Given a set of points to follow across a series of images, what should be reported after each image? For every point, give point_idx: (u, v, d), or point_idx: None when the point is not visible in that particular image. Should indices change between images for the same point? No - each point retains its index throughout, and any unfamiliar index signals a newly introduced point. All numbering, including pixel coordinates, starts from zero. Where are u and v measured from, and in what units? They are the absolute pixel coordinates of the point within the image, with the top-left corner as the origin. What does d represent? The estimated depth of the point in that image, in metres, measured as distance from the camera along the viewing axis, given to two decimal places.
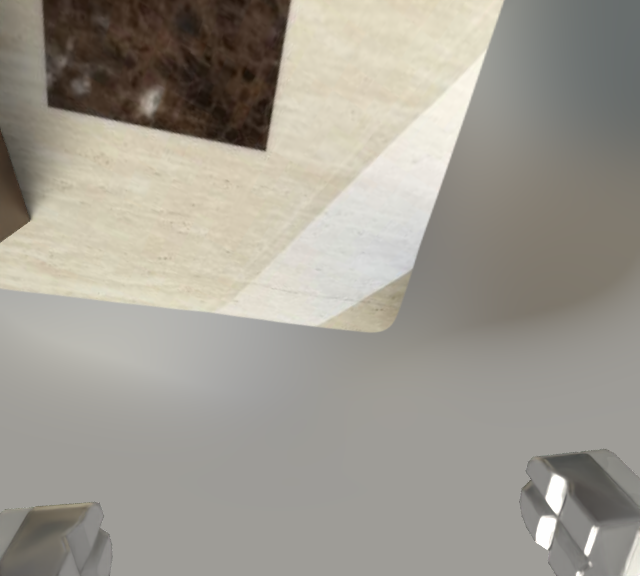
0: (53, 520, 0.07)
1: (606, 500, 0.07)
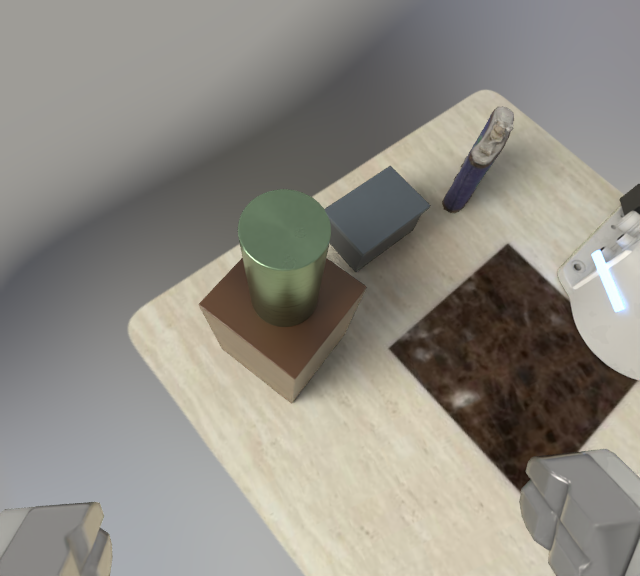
0: (53, 520, 0.07)
1: (606, 499, 0.07)
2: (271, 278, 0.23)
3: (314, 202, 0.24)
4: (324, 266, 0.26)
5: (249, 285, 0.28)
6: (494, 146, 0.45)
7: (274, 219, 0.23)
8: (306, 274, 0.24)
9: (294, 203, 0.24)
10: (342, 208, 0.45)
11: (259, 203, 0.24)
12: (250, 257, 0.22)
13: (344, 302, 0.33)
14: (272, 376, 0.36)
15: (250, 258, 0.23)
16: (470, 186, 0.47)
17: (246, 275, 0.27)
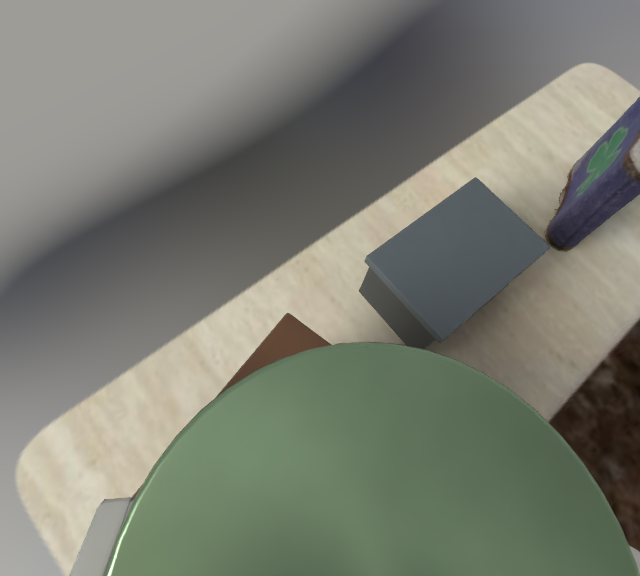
0: None
1: None
2: None
3: (525, 417, 0.05)
4: None
5: None
6: None
7: (321, 551, 0.04)
8: None
9: (423, 429, 0.04)
10: (400, 253, 0.25)
11: (233, 439, 0.04)
12: None
13: None
14: None
15: None
16: (612, 212, 0.28)
17: None
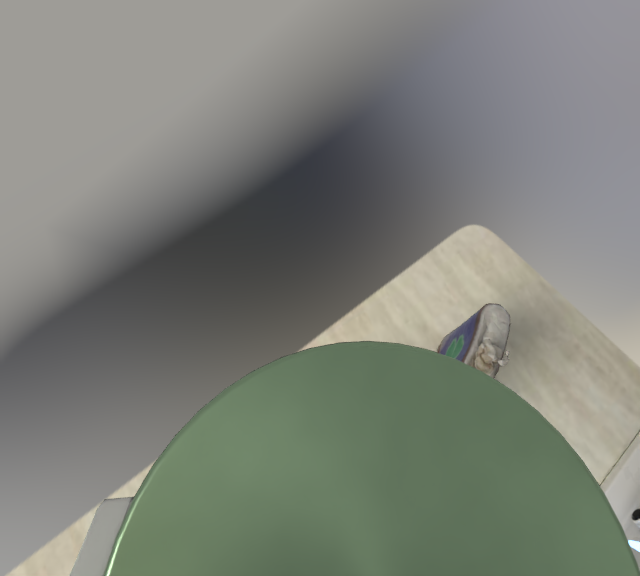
0: None
1: None
2: None
3: (525, 416, 0.05)
4: None
5: None
6: None
7: (321, 550, 0.04)
8: None
9: (423, 429, 0.04)
10: None
11: (232, 438, 0.04)
12: None
13: None
14: None
15: None
16: None
17: None
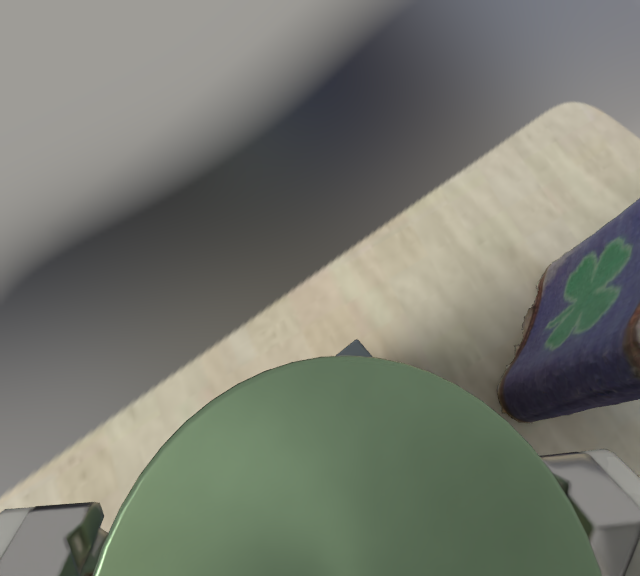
0: (53, 520, 0.07)
1: (606, 499, 0.07)
2: None
3: (496, 429, 0.05)
4: None
5: None
6: None
7: (297, 557, 0.04)
8: None
9: (399, 440, 0.05)
10: None
11: (216, 449, 0.04)
12: None
13: None
14: None
15: None
16: None
17: None
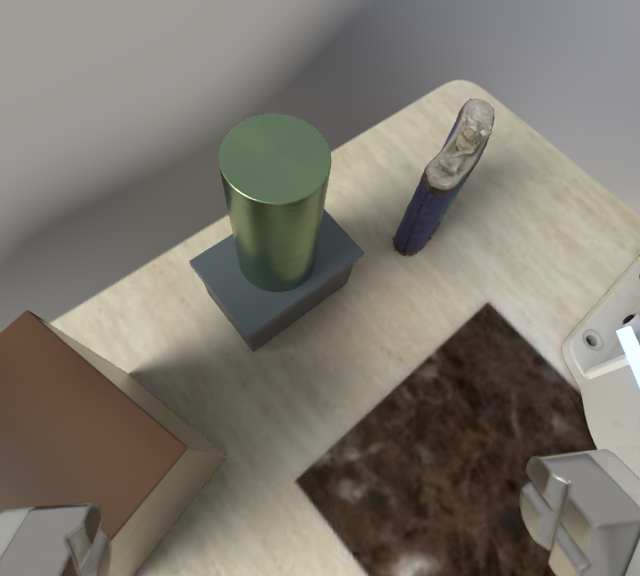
0: (53, 520, 0.07)
1: (606, 499, 0.07)
2: (258, 216, 0.19)
3: (311, 128, 0.20)
4: (322, 211, 0.22)
5: (235, 237, 0.24)
6: (463, 159, 0.28)
7: (263, 146, 0.19)
8: (301, 214, 0.20)
9: (287, 129, 0.20)
10: (221, 258, 0.28)
11: (245, 128, 0.20)
12: (233, 189, 0.19)
13: (133, 486, 0.16)
14: None
15: (233, 190, 0.19)
16: (428, 221, 0.31)
17: (231, 223, 0.23)
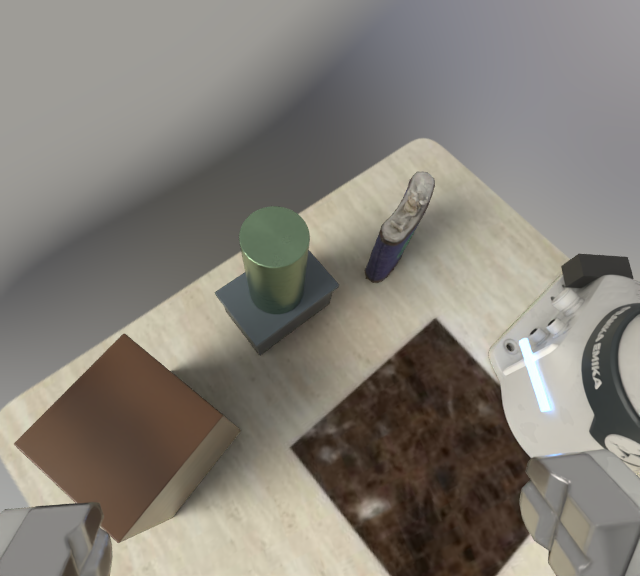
0: (53, 520, 0.07)
1: (606, 500, 0.07)
2: (264, 273, 0.31)
3: (297, 216, 0.32)
4: (306, 265, 0.34)
5: (248, 280, 0.35)
6: (409, 219, 0.40)
7: (266, 229, 0.31)
8: (291, 271, 0.31)
9: (282, 217, 0.31)
10: (237, 290, 0.40)
11: (255, 217, 0.31)
12: (248, 258, 0.30)
13: (192, 436, 0.27)
14: None
15: (248, 258, 0.30)
16: (386, 260, 0.42)
17: None
